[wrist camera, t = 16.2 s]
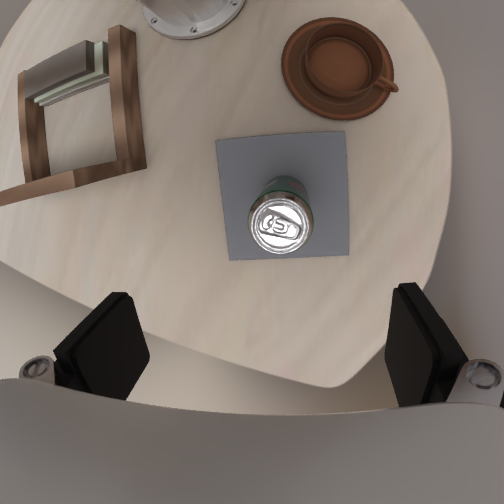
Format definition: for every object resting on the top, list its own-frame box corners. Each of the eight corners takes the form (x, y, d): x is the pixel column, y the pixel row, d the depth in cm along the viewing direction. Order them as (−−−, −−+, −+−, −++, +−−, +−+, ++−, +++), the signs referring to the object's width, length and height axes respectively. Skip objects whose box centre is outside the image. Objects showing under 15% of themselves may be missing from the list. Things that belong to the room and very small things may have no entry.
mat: (216, 140, 33) (215, 140, 33) (343, 131, 31) (344, 131, 31) (230, 258, 38) (229, 260, 37) (348, 253, 36) (348, 255, 35)
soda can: (270, 168, 33) (258, 182, 22) (314, 184, 33) (325, 207, 22) (255, 210, 35) (236, 245, 24) (298, 226, 35) (299, 268, 24)
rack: (35, 76, 32) (-35, 72, 19) (135, 33, 29) (67, -1, 16) (45, 189, 38) (-25, 214, 25) (146, 168, 35) (75, 187, 22)
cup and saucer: (389, 33, 26) (405, 15, 21) (386, 129, 31) (404, 127, 25) (284, 18, 28) (282, -4, 22) (279, 115, 32) (276, 110, 26)
